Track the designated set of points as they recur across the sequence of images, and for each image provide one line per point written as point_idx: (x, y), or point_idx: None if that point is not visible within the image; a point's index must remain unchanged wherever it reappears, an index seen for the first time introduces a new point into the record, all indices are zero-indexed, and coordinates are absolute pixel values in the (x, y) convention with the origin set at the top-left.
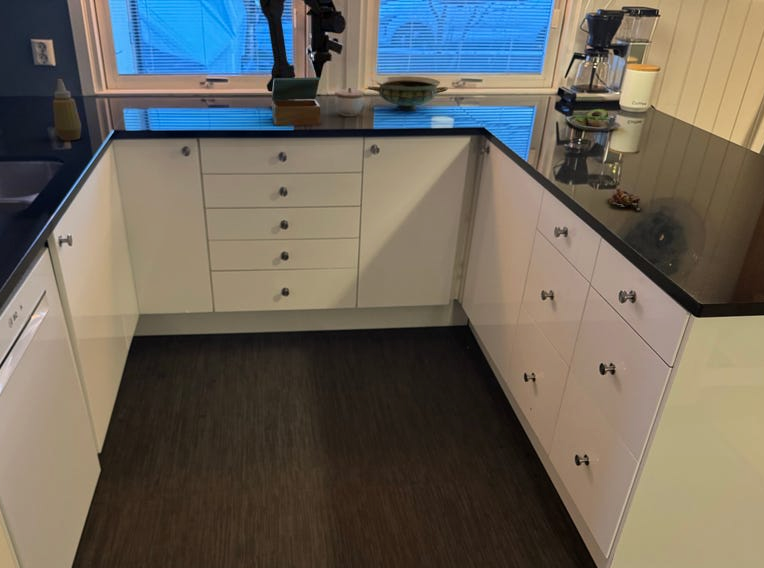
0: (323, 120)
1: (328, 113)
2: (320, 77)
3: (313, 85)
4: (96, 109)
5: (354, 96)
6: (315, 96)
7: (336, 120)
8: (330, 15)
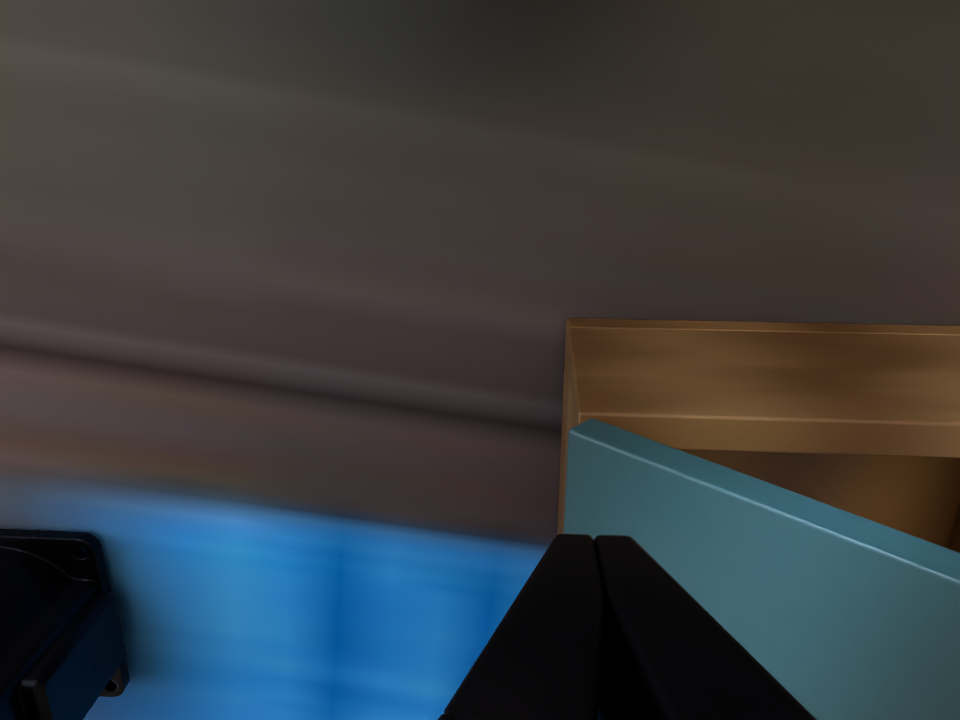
0: (773, 239)
1: (344, 91)
2: (655, 560)
3: None
4: None
5: None
6: (671, 452)
7: (823, 49)
8: None
